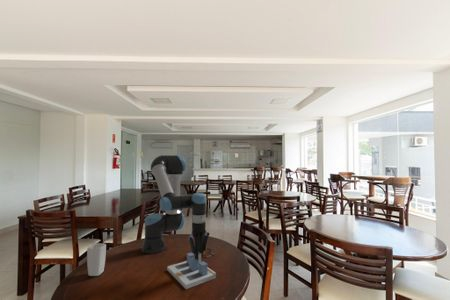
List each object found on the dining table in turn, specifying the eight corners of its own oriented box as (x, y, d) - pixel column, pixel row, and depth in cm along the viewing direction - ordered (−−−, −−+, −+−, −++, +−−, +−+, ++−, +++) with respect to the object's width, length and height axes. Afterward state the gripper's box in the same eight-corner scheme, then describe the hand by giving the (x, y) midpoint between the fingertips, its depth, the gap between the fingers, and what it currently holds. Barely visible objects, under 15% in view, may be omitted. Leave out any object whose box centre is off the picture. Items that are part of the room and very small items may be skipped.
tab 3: (198, 272, 117) (198, 262, 117) (203, 270, 119) (203, 261, 119) (202, 275, 114) (202, 265, 114) (207, 273, 116) (207, 263, 116)
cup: (84, 277, 116) (85, 248, 117) (94, 270, 124) (94, 243, 124) (98, 278, 116) (99, 248, 117) (106, 271, 123) (107, 243, 124)
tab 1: (186, 262, 129) (186, 253, 129) (191, 261, 130) (191, 252, 131) (189, 265, 125) (189, 256, 126) (194, 263, 127) (194, 254, 127)
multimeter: (213, 258, 138) (213, 226, 139) (197, 257, 140) (197, 225, 141) (218, 249, 153) (218, 220, 154) (204, 248, 155) (204, 219, 156)
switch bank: (167, 270, 124) (167, 265, 124) (194, 261, 134) (194, 257, 134) (186, 289, 106) (186, 283, 106) (215, 278, 116) (215, 272, 116)
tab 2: (188, 268, 122) (189, 258, 122) (193, 266, 123) (193, 257, 124) (192, 271, 118) (192, 261, 119) (197, 269, 120) (197, 260, 120)
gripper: (191, 225, 117) (191, 271, 116) (212, 221, 125) (212, 264, 124) (185, 222, 123) (184, 265, 122) (205, 218, 131) (205, 259, 130)
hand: (198, 265), depth 123 cm, fingers closed
